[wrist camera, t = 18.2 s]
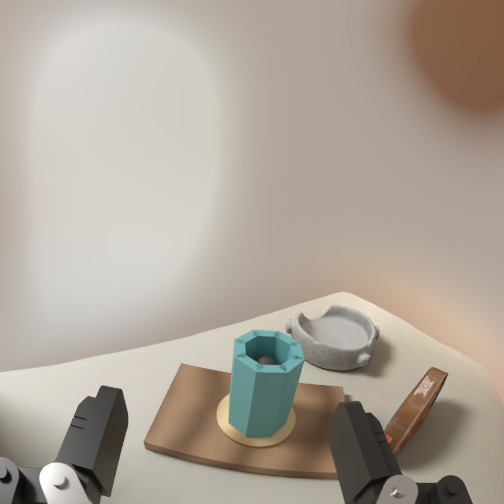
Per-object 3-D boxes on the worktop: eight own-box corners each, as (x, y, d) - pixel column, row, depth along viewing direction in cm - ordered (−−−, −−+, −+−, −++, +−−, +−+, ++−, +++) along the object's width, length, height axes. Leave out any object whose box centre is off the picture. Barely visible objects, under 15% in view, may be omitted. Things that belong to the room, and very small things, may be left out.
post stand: (145, 448, 26) (129, 383, 23) (181, 371, 40) (180, 306, 36) (348, 478, 25) (388, 420, 21) (339, 394, 38) (362, 332, 34)
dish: (273, 346, 48) (277, 320, 46) (319, 317, 57) (324, 294, 56) (350, 390, 39) (360, 364, 37) (385, 348, 48) (394, 325, 47)
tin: (380, 474, 25) (413, 431, 22) (360, 460, 27) (389, 416, 24) (431, 408, 34) (457, 364, 31) (415, 398, 36) (439, 354, 33)
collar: (228, 436, 28) (234, 370, 25) (228, 394, 34) (234, 328, 31) (287, 436, 29) (308, 372, 25) (281, 396, 35) (296, 331, 31)
